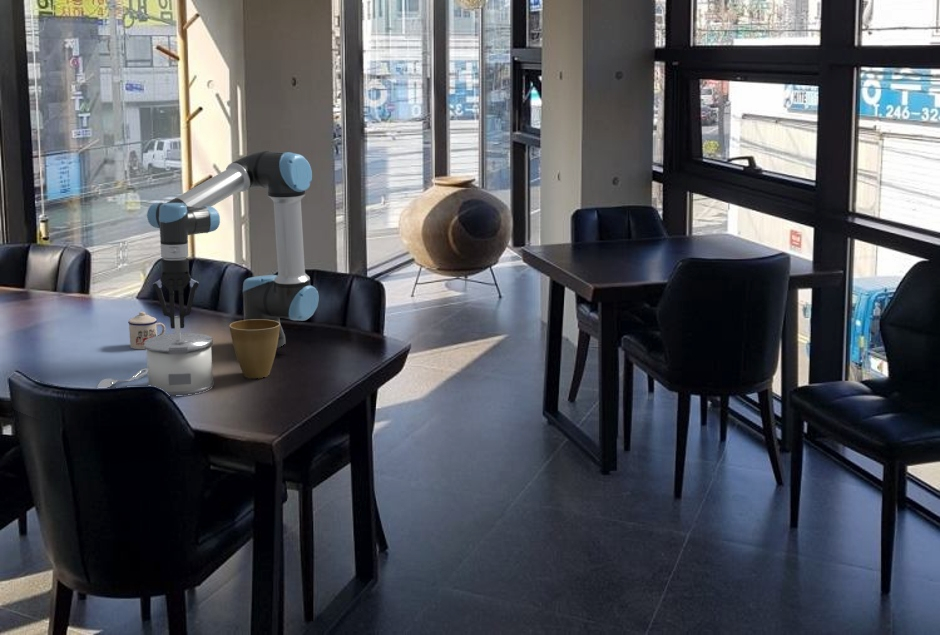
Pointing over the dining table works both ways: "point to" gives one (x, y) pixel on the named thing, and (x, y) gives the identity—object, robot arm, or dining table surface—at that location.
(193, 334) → the lid
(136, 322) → the teacup with lid
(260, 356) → the plant pot
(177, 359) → the cooker pot
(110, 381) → the stirrer
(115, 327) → the dining table surface
